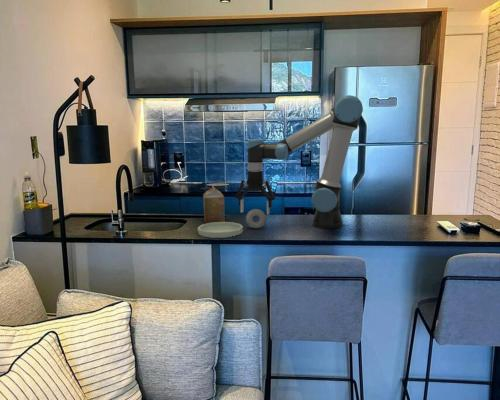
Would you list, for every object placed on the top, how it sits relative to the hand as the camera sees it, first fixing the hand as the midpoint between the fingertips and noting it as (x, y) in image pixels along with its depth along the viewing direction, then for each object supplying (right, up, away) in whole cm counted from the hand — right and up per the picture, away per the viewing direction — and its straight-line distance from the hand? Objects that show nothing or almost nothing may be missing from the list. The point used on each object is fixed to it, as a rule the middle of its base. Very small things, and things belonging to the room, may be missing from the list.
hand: (255, 212), depth 213 cm
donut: (+1, -8, +1) cm, 8 cm away
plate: (-17, -9, -5) cm, 20 cm away
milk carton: (-22, -5, +19) cm, 30 cm away
